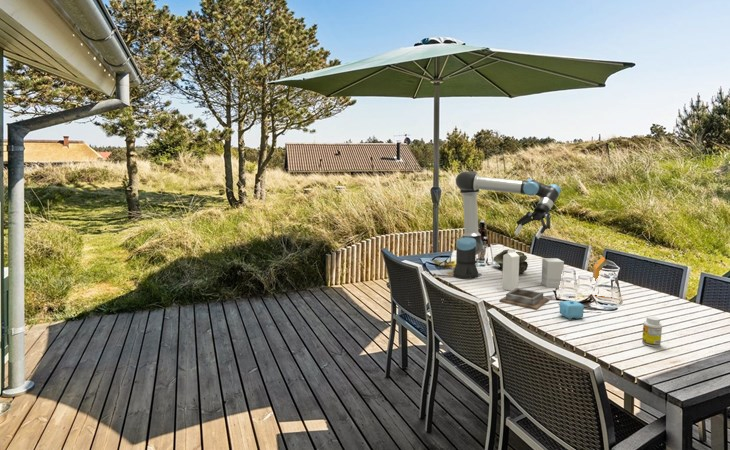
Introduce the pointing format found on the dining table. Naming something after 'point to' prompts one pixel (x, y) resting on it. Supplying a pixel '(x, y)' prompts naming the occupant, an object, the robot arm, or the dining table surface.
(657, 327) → the supplement bottle
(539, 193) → the robot arm
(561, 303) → the light blue block
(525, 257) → the hollow geode rock
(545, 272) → the supplement box
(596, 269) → the orange juice
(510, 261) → the milk
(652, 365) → the dining table surface
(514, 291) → the holder
